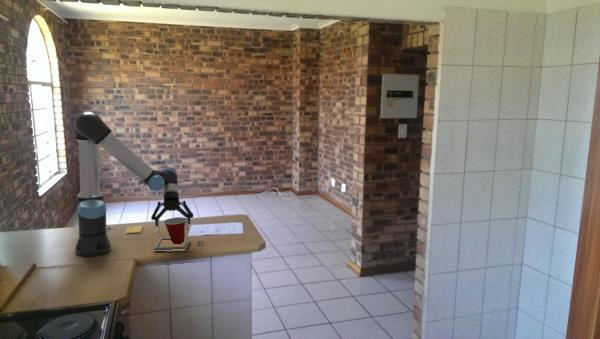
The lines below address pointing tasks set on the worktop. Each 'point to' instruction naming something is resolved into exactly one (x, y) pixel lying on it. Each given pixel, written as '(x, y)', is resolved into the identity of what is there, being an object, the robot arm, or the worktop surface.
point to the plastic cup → (176, 229)
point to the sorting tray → (169, 247)
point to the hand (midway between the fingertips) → (173, 230)
